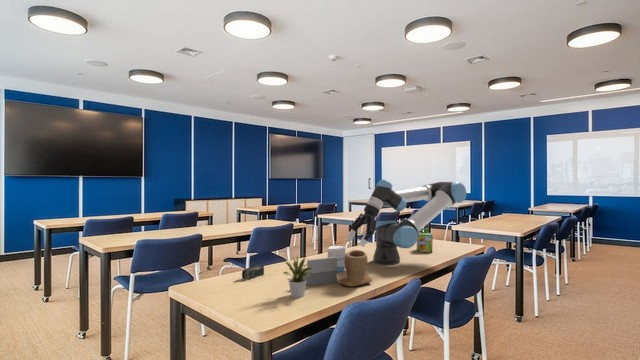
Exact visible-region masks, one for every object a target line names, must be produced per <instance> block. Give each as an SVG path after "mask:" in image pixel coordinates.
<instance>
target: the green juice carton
mask: <svg viewBox="0 0 640 360" xmlns="http://www.w3.org/2000/svg"><path fill="white" fill-rule="evenodd" d="M433 239H434V238H433V234H432V233H431V232H429V229H428V228H427V227H423V228H422V229H421V230H420V232H419V236H418V239H417V242H416V251H417V253H430V254H431V253H433Z"/></svg>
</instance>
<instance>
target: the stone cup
mask: <svg viewBox="0 0 640 360" xmlns="http://www.w3.org/2000/svg"><path fill="white" fill-rule="evenodd" d="M368 261H369V259H368V254H367V253H366V252H365V251H363V250H358V249H355V250H354V249H352V250H350V251H348V252H345V261H344V263H345V272H346V276H345V277H342V278H340V279H339V280H338V282H339V283H340V284H341V285H344V286H346V287H356V286H357V287H358V286H360V285H361V286H362V285H364V284H368V283H371V282H373V279H372V278H371V276H370V275H369V274H368V273H366V269H367V266H368Z"/></svg>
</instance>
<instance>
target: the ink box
mask: <svg viewBox="0 0 640 360" xmlns="http://www.w3.org/2000/svg"><path fill="white" fill-rule="evenodd" d="M345 255H346V246H343V245H330V246H329V247H328V248H327V258H329V257H337V273H338V272H341V273H342V272H343V273H344V271H346V269H345V263H344V261H345Z"/></svg>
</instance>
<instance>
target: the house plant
mask: <svg viewBox="0 0 640 360" xmlns="http://www.w3.org/2000/svg"><path fill="white" fill-rule="evenodd" d="M306 258H307V256H305V257H304V258H302V260H301V261H300V262H299V255H297V256H296V259H295V258H294V257H293V262H289V261H288V260H289V258H286V259H285V260H282V262H284V263H285V264H286V265H287V266H288V269H289V270H290V271H291V272H292V274H290V272H288V271H284V272H283V273H282V274H283V275H284V276H291V277H292V278H290V279H289V280H288V284H289V285H288V286H289V290H290V291H289V292H290V296H291V297H292V298H295V299H298V298H303V297H305V290H306V279H304V278H303V277H304V276H305V275H309V276H310V274H307V273H311V274H313V273H312V272H306V271H307V270H310V269H315V268H306V269H305V268H304V267H305V266H306V265H307V264H308V263H309V262H310V261H309V262H308V263H307V262H306ZM311 261H312V260H311ZM305 262H306V263H305ZM291 263H292V265H291ZM302 266H304V267H302ZM302 268H303V269H304V270H303V269H302ZM301 270H302V271H301ZM305 272H306V274H305Z"/></svg>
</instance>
